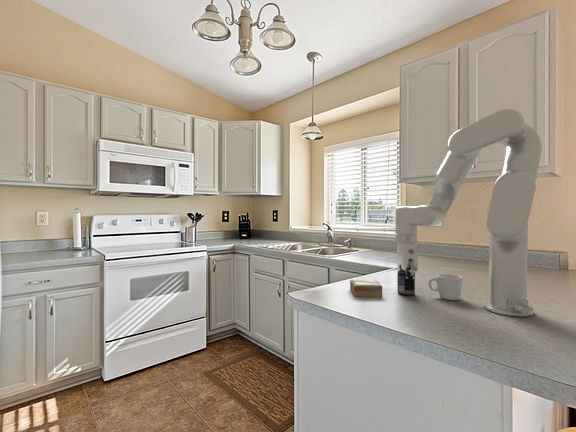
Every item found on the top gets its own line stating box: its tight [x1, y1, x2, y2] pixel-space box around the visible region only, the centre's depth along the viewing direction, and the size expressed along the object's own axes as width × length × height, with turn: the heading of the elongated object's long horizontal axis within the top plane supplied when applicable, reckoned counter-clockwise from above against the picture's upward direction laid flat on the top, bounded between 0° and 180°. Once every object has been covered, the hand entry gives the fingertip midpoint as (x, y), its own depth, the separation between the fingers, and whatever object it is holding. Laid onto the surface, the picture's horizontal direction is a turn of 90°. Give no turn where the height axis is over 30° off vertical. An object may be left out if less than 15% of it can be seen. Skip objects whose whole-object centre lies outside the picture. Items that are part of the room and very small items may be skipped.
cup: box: [428, 273, 464, 301], centre depth 108 cm, size 11×8×8 cm
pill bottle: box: [397, 265, 416, 297], centre depth 114 cm, size 6×6×11 cm
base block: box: [349, 279, 383, 298], centre depth 115 cm, size 10×10×4 cm
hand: (406, 286), depth 114 cm, fingers closed on pill bottle, 6 cm apart
